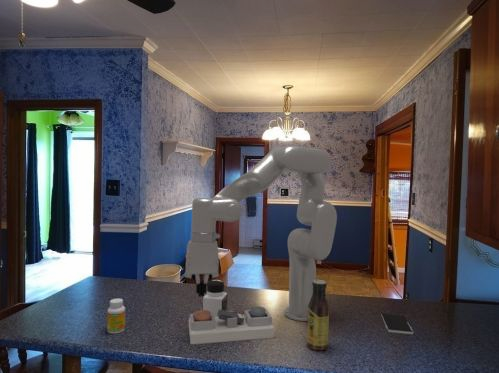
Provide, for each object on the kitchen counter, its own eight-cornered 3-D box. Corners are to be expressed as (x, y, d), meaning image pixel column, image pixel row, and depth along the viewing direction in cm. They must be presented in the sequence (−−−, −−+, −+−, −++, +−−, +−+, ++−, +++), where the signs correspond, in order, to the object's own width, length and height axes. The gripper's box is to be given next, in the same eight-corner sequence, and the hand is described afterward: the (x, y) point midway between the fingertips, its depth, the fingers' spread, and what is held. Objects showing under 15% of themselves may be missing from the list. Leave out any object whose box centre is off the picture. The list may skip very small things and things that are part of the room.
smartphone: (403, 315, 131) (414, 332, 116) (403, 318, 131) (414, 335, 116) (380, 312, 132) (387, 329, 118) (380, 316, 132) (387, 333, 118)
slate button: (263, 313, 120) (263, 306, 120) (267, 319, 115) (267, 311, 115) (248, 314, 119) (248, 306, 119) (252, 320, 114) (252, 312, 114)
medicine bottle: (221, 318, 126) (222, 285, 125) (202, 316, 127) (203, 283, 127) (227, 311, 133) (227, 279, 132) (208, 309, 134) (209, 277, 134)
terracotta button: (209, 316, 116) (209, 309, 116) (211, 323, 111) (211, 315, 111) (194, 318, 115) (194, 310, 115) (195, 324, 110) (195, 316, 110)
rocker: (240, 318, 118) (241, 314, 118) (242, 323, 114) (244, 318, 114) (217, 314, 116) (218, 309, 116) (218, 318, 112) (220, 313, 112)
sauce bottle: (305, 341, 110) (306, 277, 109) (325, 342, 110) (327, 277, 109) (308, 351, 103) (309, 283, 103) (329, 352, 103) (331, 284, 102)
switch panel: (264, 322, 124) (265, 305, 123) (274, 337, 112) (274, 319, 112) (188, 327, 118) (188, 310, 118) (190, 344, 106) (190, 325, 106)
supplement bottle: (108, 335, 112) (108, 304, 111) (106, 328, 116) (106, 299, 116) (126, 332, 114) (126, 302, 114) (123, 325, 119) (123, 296, 118)
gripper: (225, 235, 117) (222, 290, 118) (178, 235, 114) (176, 292, 114) (228, 239, 110) (226, 298, 110) (179, 239, 107) (177, 300, 107)
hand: (201, 295), depth 112 cm, fingers closed
